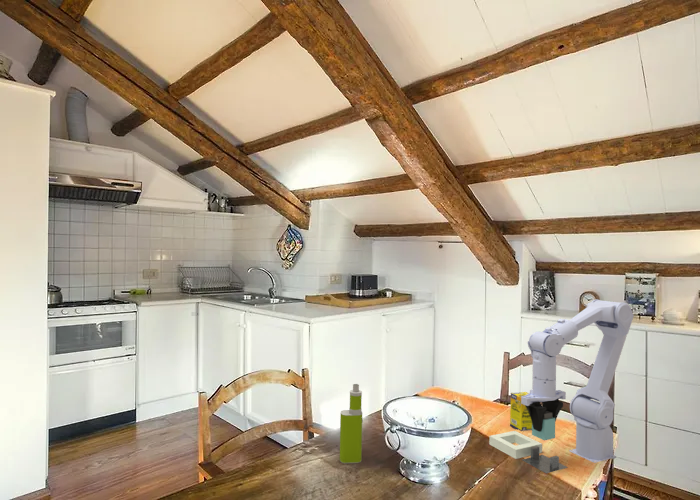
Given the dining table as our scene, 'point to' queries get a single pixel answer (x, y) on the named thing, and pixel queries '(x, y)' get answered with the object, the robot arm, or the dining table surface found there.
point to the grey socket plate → (543, 461)
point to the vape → (351, 429)
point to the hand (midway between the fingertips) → (543, 428)
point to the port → (518, 451)
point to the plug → (546, 427)
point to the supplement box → (519, 413)
